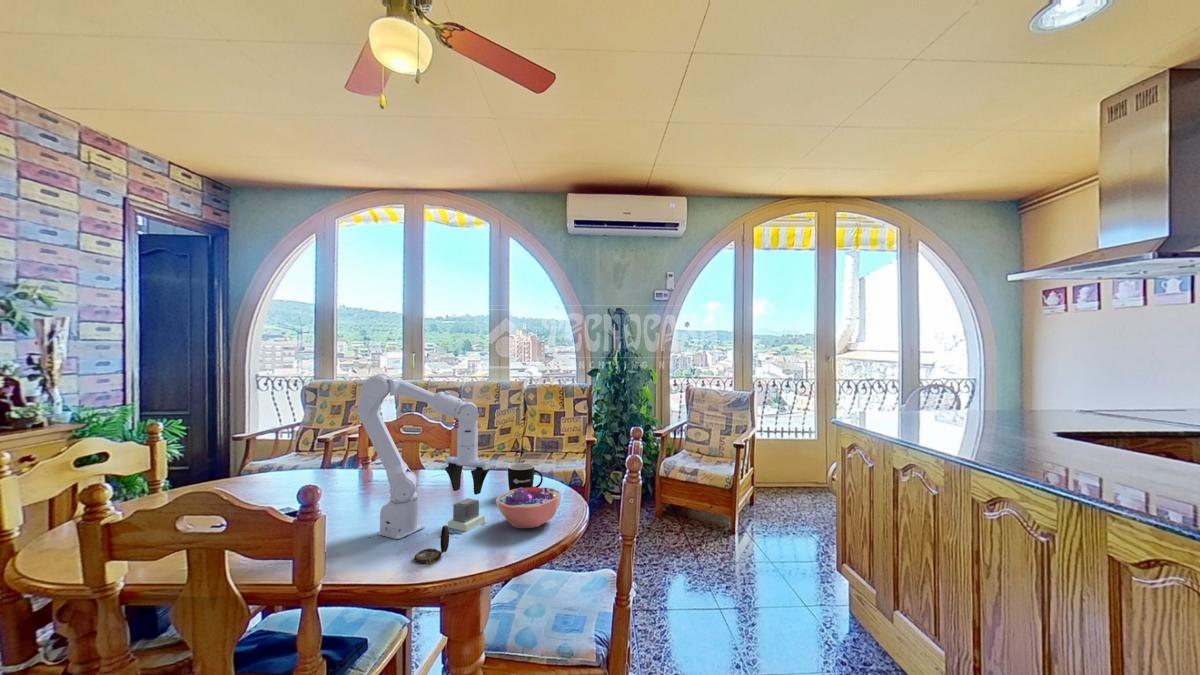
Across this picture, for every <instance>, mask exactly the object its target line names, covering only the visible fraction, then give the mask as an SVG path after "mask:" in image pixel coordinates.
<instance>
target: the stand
mask: <svg viewBox="0 0 1200 675" xmlns="http://www.w3.org/2000/svg"><path fill="white" fill-rule="evenodd" d="M485 520H486V518H485V515H484V514H483V515H482V514H479V516H478V517H476V518H474V519H472V520H470V521H468V522H466V523H462V522H457V521H453V518H451V519H449V520H448V521H447V526H448V528H449V529H454V530H457V531H458V530H459V531H463V532H468V531H471V530H472V529H474V528H475V527H477V526H479V525H481V524H483V523H485Z"/></svg>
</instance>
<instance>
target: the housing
mask: <svg viewBox="0 0 1200 675" xmlns="http://www.w3.org/2000/svg"><path fill="white" fill-rule="evenodd" d="M452 509H453V511H452V512H453V514H452V515H453V516H452V519H453V521H457V522H462V523H466V522H468V521H470V520H472V519H474V518H476V517H478V516H479V515H480V501H479V499H472V498H468V497H467V498H465V499H463V500H461V501H458V502H456V503H454V504H453V508H452Z"/></svg>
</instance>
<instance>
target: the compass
mask: <svg viewBox="0 0 1200 675" xmlns="http://www.w3.org/2000/svg"><path fill="white" fill-rule="evenodd" d="M440 531H441V533H440V543H439V544H440V550H438V549H437V548H425V549H422V550H420V551H418V552H417V553H416V554H415V555H414V558H413V560H414V561H415V562H416V563H417V564H418V563H419V564H427V565H428V564H433V563H435V562H436V561H438V560H440V559H441V557H442V554H443V553H446V552H447V551H448V548H449V545H450V528H448V524H446V525H445V524H444V525H442V528H441V530H440Z"/></svg>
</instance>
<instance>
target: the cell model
mask: <svg viewBox="0 0 1200 675" xmlns="http://www.w3.org/2000/svg"><path fill="white" fill-rule="evenodd" d="M561 496H562V492H561V491H559V490H557V489H554V488H553V487H550V488H549V487H538V488H522V487H520V488H518V489H513V490H510V491H509V490H508V491H506V492H505V493H504V494H501V495H499V496H498V497H497V498H495V503H496V506H497V508H498V510H499V513H501V515H502V516H503V517H504V519H505V521H506V522H508V523H509V524H510V525H511V526H512V527H515V528H517V529H532V528H533V529H534V528H537V527H540V526H542V525H544V524H545V523H547V522H548V521H550V520H552V519H553V518H554V516H555V515H556V513H557V511H558V509H559V507H560V506H561Z"/></svg>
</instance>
